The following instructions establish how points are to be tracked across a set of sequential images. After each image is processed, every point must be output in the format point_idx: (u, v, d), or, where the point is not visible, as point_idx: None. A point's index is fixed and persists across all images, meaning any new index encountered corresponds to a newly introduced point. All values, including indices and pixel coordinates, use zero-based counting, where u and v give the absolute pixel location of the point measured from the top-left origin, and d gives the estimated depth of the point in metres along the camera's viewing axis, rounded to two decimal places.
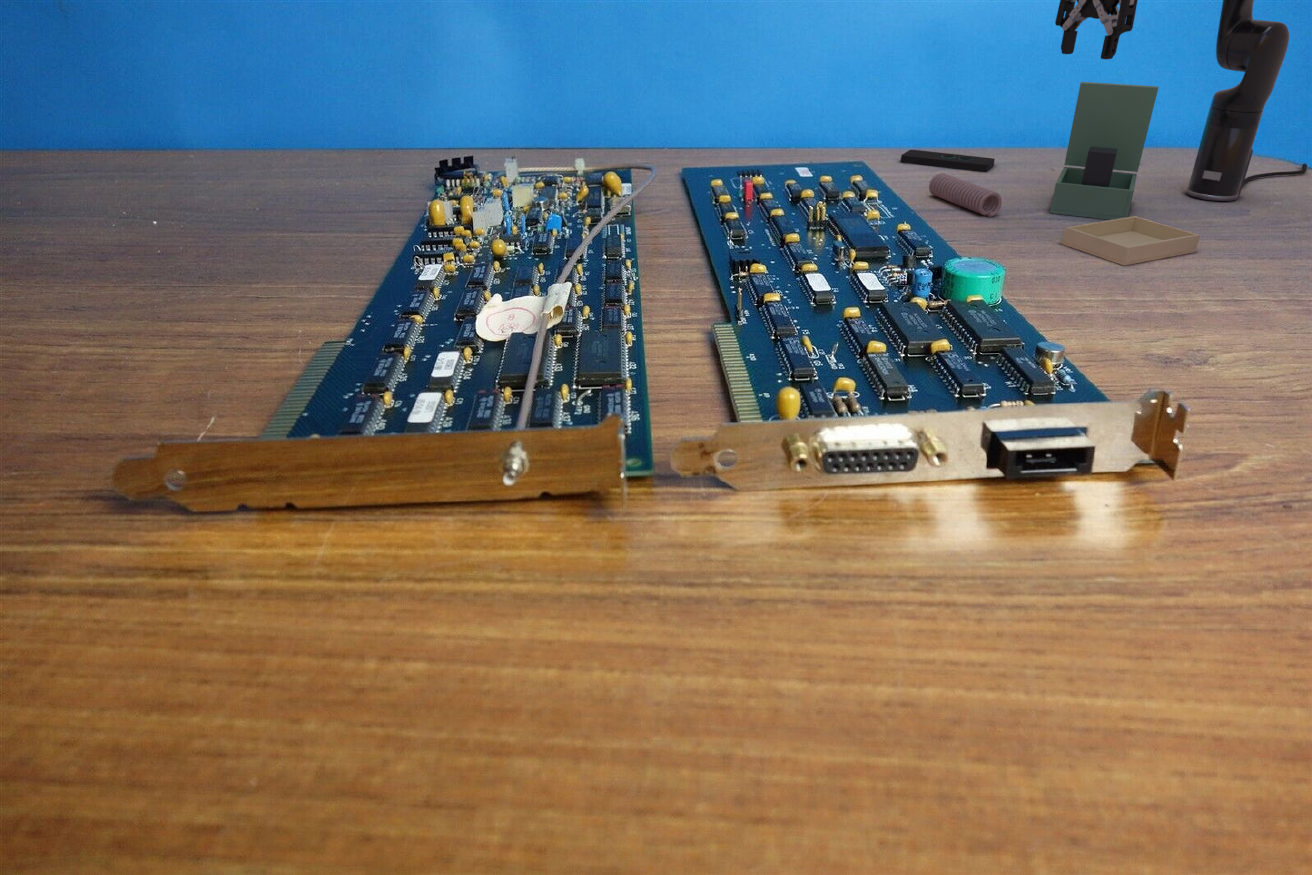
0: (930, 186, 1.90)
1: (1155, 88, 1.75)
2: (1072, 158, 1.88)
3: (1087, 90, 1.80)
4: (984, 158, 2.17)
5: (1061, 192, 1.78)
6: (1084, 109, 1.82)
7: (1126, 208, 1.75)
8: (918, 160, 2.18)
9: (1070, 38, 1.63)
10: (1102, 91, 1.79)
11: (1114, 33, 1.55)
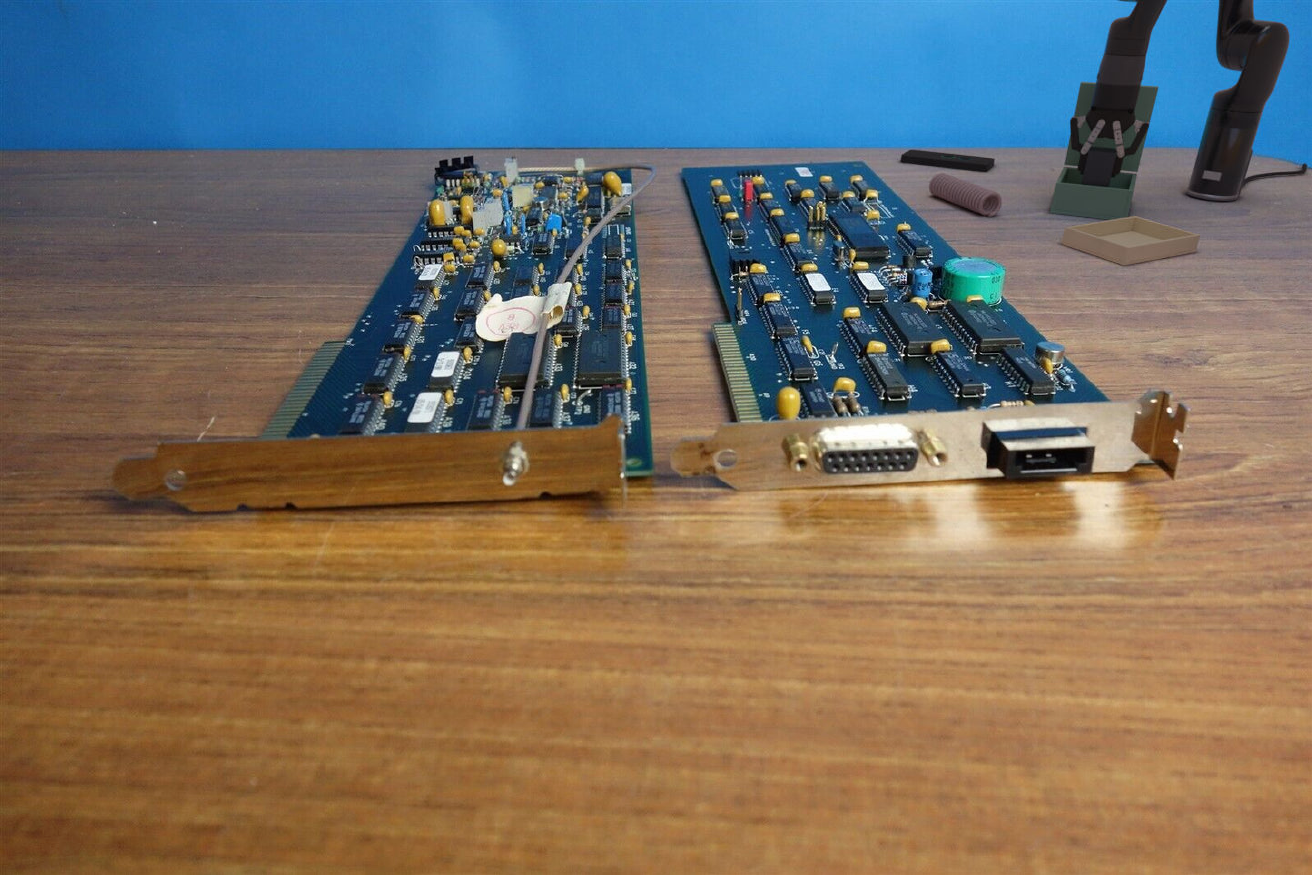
0: (930, 186, 1.90)
1: (1155, 88, 1.75)
2: (1072, 158, 1.88)
3: (1087, 90, 1.80)
4: (984, 158, 2.17)
5: (1061, 192, 1.78)
6: (1084, 109, 1.82)
7: (1126, 208, 1.75)
8: (918, 160, 2.18)
9: None
10: None
11: (1123, 155, 1.74)
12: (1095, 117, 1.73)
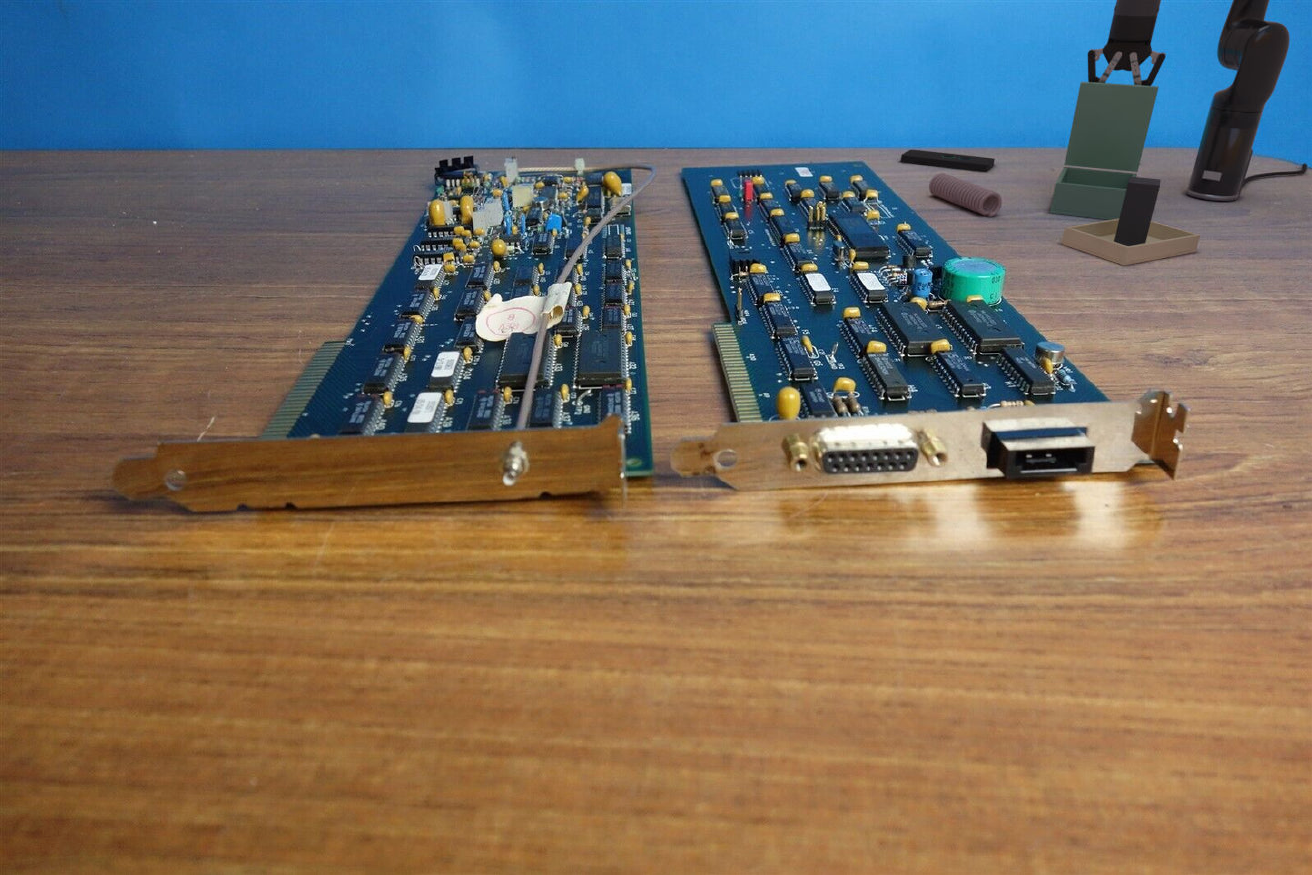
0: (930, 186, 1.90)
1: (1155, 88, 1.75)
2: (1072, 158, 1.88)
3: (1087, 90, 1.80)
4: (984, 158, 2.17)
5: (1061, 192, 1.78)
6: (1084, 109, 1.82)
7: None
8: (918, 160, 2.18)
9: None
10: (1102, 91, 1.79)
11: None
12: (1112, 49, 1.78)
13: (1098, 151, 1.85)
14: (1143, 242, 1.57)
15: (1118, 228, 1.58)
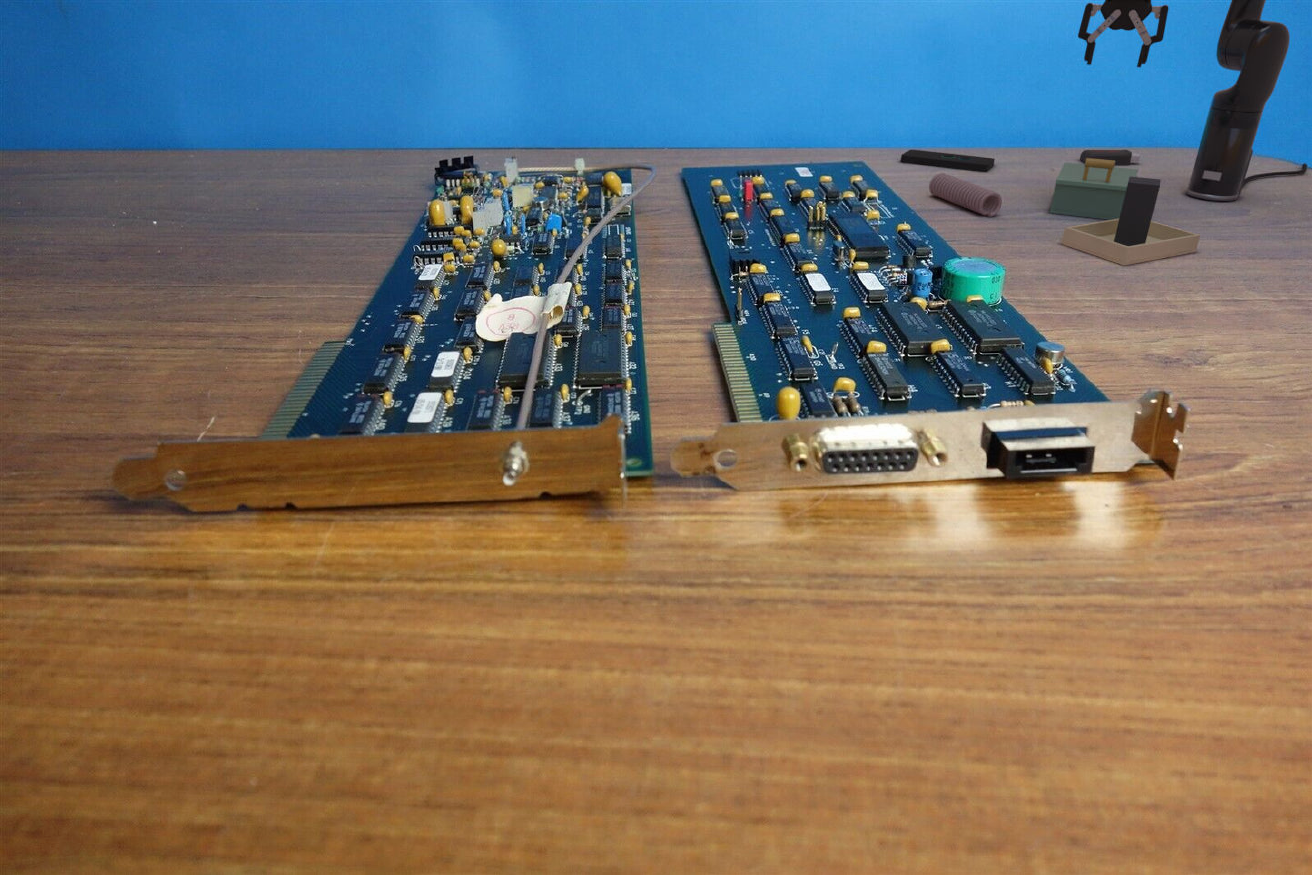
0: (930, 186, 1.90)
1: None
2: None
3: None
4: (984, 158, 2.17)
5: (1061, 192, 1.78)
6: None
7: None
8: (918, 160, 2.18)
9: (1094, 49, 1.73)
10: None
11: (1150, 43, 1.69)
12: (1111, 8, 1.69)
13: None
14: (1143, 242, 1.57)
15: (1118, 228, 1.58)
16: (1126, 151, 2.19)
